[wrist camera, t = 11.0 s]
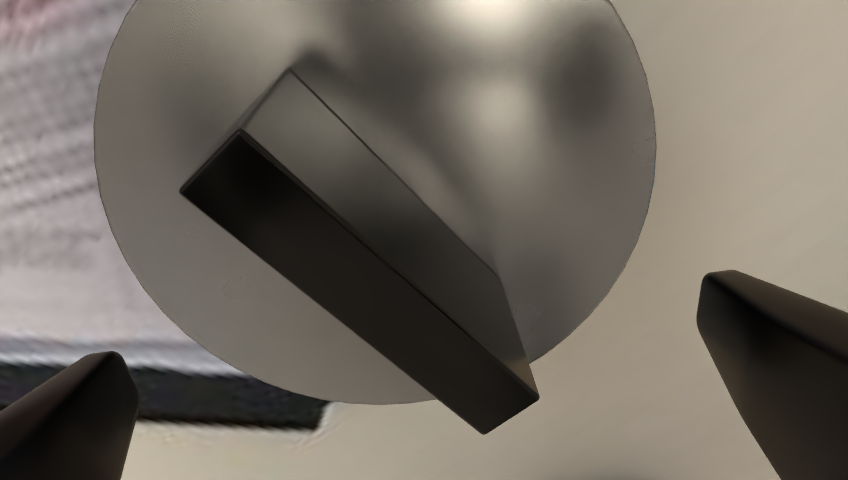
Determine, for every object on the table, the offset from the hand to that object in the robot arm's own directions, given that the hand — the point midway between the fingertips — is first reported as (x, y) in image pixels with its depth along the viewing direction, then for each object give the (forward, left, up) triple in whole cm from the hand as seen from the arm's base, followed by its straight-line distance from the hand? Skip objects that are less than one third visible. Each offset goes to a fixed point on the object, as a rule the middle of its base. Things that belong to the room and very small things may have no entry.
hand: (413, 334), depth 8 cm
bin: (0, 0, -12) cm, 12 cm away
